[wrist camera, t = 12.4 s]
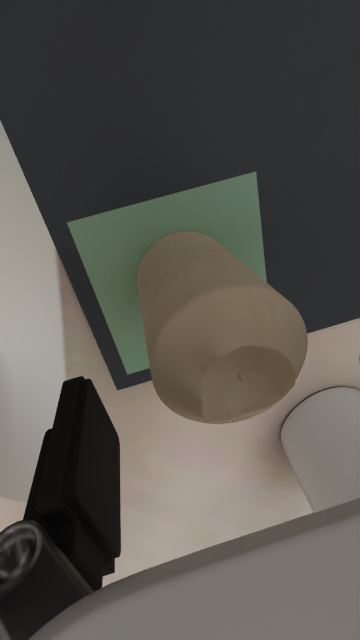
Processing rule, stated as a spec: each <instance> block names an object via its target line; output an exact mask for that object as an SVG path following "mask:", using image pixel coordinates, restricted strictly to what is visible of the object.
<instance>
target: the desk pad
mask: <svg viewBox="0 0 360 640" xmlns="http://www.w3.org/2000/svg"><path fill="white" fill-rule="evenodd" d="M0 120H1V122H2V124H3V127H4V129H5V131H6V134H7V136H8V138H9V140H10V143H11V145H12V147H13V150H14V152H15V155H16V157H17V159H18V161H19V164H20V166H21V168H22V171H23V173H24V175H25V178H26V180H27V182H28V184H29V187H30V189H31V192H32V194H33V196H34V198H35V201H36V203H37V205H38V208H39V210H40V212H41V215H42V217H43V219H44V222H45V224H46V226H47V228H48V231H49V233H50V235H51V238H52V240H53V242H54V245H55V247H56V249H57V252H58V254H59V256H60V259H61V261H62V263H63V265H64V268H65V270H66V272H67V275H68V277H69V279H70V282H71V284H72V286H73V289H74V291H75V293H76V295H77V298H78V300H79V302H80V305H81V307H82V309H83V312H84V314H85V316H86V319H87V321H88V323H89V326H90V328H91V330H92V332H93V335H94V337H95V339H96V342H97V344H98V346H99V349H100V351H101V353H102V356H103V358H104V360H105V362H106V365H107V367H108V369H109V372H110V374H111V376H112V379H113V381H114V383H115V386H116V388H117V390H120V389H123V388H127V387H130V386H133V385H137V384H140V383H143V382H147V381H150V380H152V377H151V372H150V366H149V359H148V353H147V347H146V340H145V334H144V328H143V321H142V315H141V309H140V303H139V296H138V289H137V274H138V269H139V266H140V263H141V261H142V259H143V257H144V255H145V253H146V252H147V251H148V249H149V248H150V247H151V246H152V245H153V244H154V243H156V242H157V241H158V240H160V239H161V238H163V237H165V236H167V235H169V234H173V233H176V232H184V231H190V232H197V233H201V234H204V235H206V236H209V237H210V238H212V239H214V240H215V241H217V242H218V243H219V244H220V245H222V246H223V247H224V248H225V249H227V250H228V251H229V252H230V253H231V254H233V255H234V256H235V257H236V258H237V259H239V260H240V261H241V262H242V263H243V264H245V265H246V266H247V267H248V268H249V269H251V270H252V271H253V272H254V273H256V274H257V275H258V276H259V277H260V278H262V279H263V280H264V281H265V282H266V283H268V284H269V285H270V286H271V287H272V288H274V289H275V290H276V291H277V292H278V293H280V294H281V295H282V296H283V297H285V298H286V299H287V300H288V301H289V302H290V303H292V305H293V306H294V307H295V308H296V309H297V310H298V312H299V313H300V315H301V317H302V319H303V321H304V323H305V326H306V331H307V333H310V332H313V331H317V330H320V329H323V328H327V327H330V326H333V325H337V324H340V323H343V322H347V321H350V320H353V319H357V318H360V0H0Z"/></svg>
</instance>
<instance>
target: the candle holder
mask: <svg viewBox="0 0 360 640" xmlns="http://www.w3.org/2000/svg"><path fill="white" fill-rule="evenodd" d="M281 444H282V447H283V450H284V452H285V454H286V457H287V459H288V461H289V463H290V465H291V467H292V469H293V471H294V473H295V475H296V477H297V480H298V482H299V484H300V486H301V488H302V490H303V492H304V494H305V496H306V498H307V500H308V502H309V504H310V506H311V508H312V510H313V512H314V513H315V512H318V511H321V510H324V509H327V508H330V507H333V506H337V505H340V504H343V503H346V502H349V501H352V500H355V499H358V498H360V390H357V389H354V388H349V387H336V388H331V389H327V390H324V391H321V392H318V393H316V394H314V395H312V396H310V397H309V398H307V399H306V400H304V401H303V402H301V403H300V404H299V405H298V406H297V407H296V408H295V409H294V410H293V411H292V412H291V413H290V414H289V416H288V417H287V419H286V420H285V422H284V424H283V427H282V430H281Z"/></svg>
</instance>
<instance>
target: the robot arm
mask: <svg viewBox="0 0 360 640" xmlns="http://www.w3.org/2000/svg"><path fill="white" fill-rule="evenodd" d="M120 552H121V526H120V443H119V437H118V434H117V432H116V430H115V428H114V426H113V424H112V422H111V420H110V418H109V416H108V414H107V411H106V409H105V407H104V405H103V403H102V401H101V399H100V397H99V395H98V393H97V391H96V389H95V387H94V385H93V383H92V381H91V380H90V379H86V380H85V378H84V377H83V376H80V377H77V378H73V379H70V380H66V381H64V382H63V385H62V390H61V394H60V398H59V402H58V407H57V411H56V416H55V419H54V424H53V428H52V429H49V430H48V431H47V432H46V433H45V436H44V439H43V443H42V447H41V451H40V455H39V459H38V463H37V467H36V471H35V475H34V479H33V483H32V487H31V490H30V494H29V498H28V502H27V506H26V510H25V514H24V518H23V520H22V521H18V522H16V523H14V524H12V525H10V526H8V527H7V528H5V529H4V530H3V531H2V532H0V640H360V498H358V499H355V500H352V501H349V502H346V503H343V504H340V505H337V506H333V507H330V508H327V509H324V510H321V511H318V512H315V513H312V514H309V515H306V516H303V517H300V518H297V519H294V520H291V521H288V522H285V523H281V524H278V525H275V526H272V527H269V528H266V529H263V530H260V531H257V532H254V533H251V534H248V535H245V536H242V537H239V538H236V539H233V540H230V541H227V542H224V543H221V544H218V545H215V546H212V547H209V548H206V549H203V550H200V551H197V552H194V553H191V554H189V555H186V556H183V557H180V558H177V559H174V560H172V561H169V562H166V563H163V564H160V565H157V566H154V567H152V568H149V569H146V570H143V571H140V572H138V573H135V574H133V575H131V576H128V577H126V578H123V579H121V580H118V581H116V582H114V583H111V584H109V585H107V586H105V587H103V588H102V578H103V576H105V575H109V574H112V573H115V558H117V557H119V556H120Z"/></svg>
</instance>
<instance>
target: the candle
mask: <svg viewBox="0 0 360 640" xmlns="http://www.w3.org/2000/svg"><path fill="white" fill-rule="evenodd" d="M137 289H138V296H139V303H140V309H141V315H142V321H143V328H144V334H145V340H146V347H147V353H148V359H149V366H150V372H151V377H152V382H153V385H154V388H155V390H156V392H157V394H158V396H159V397H160V399H161V400H162V401H163V403H164V404H165V405H166V406H167V407H169V408H170V409H171V410H172V411H174V412H175V413H177V414H178V415H180V416H183V417H185V418H187V419H190V420H194V421H198V422H203V423H212V424H224V423H233V422H238V421H243V420H246V419H249V418H252V417H254V416H256V415H258V414H260V413H262V412H264V411H266V410H267V409H269V408H270V407H272V406H273V405H275V404H276V403H277V402H278V401H280V400H281V399H282V398H283V397H284V396H285V395H286V394H287V392H288V391H289V390H290V389H291V388H292V387H293V386H294V384H295V381H296V379H297V377H298V375H299V373H300V371H301V368H302V366H303V363H304V360H305V357H306V352H307V343H308V340H307V331H306V326H305V323H304V321H303V319H302V317H301V315H300V313H299V312H298V310H297V309H296V308H295V307H294V306H293V305H292V303H290V302H289V301H288V300H287V299H286V298H285V297H283V296H282V295H281V294H280V293H278V292H277V291H276V290H275V289H274V288H272V287H271V286H270V285H269V284H268V283H266V282H265V281H264V280H263V279H262V278H260V277H259V276H258V275H257V274H256V273H254V272H253V271H252V270H251V269H249V268H248V267H247V266H246V265H245V264H243V263H242V262H241V261H240V260H239V259H237V258H236V257H235V256H234V255H233V254H231V253H230V252H229V251H228V250H227V249H225V248H224V247H223V246H222V245H220V244H219V243H218V242H217V241H215V240H214V239H212V238H210V237H209V236H206V235H204V234H201V233H197V232H190V231H184V232H176V233H173V234H169V235H167V236H165V237H163V238H161V239H160V240H158V241H157V242H156V243H154V244H153V245H152V246H151V247H150V248H149V249H148V251H147V252H146V253H145V255H144V257H143V259H142V261H141V263H140V266H139V269H138V274H137Z"/></svg>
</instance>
